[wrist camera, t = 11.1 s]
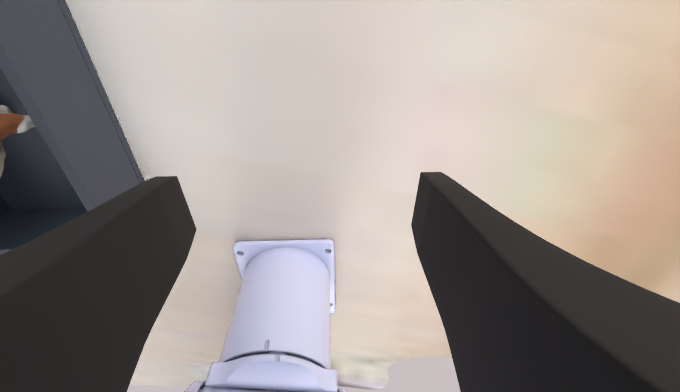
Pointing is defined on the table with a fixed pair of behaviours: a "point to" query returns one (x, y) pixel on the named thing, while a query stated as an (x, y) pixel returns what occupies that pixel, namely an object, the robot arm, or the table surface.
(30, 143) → the tote
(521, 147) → the table surface
